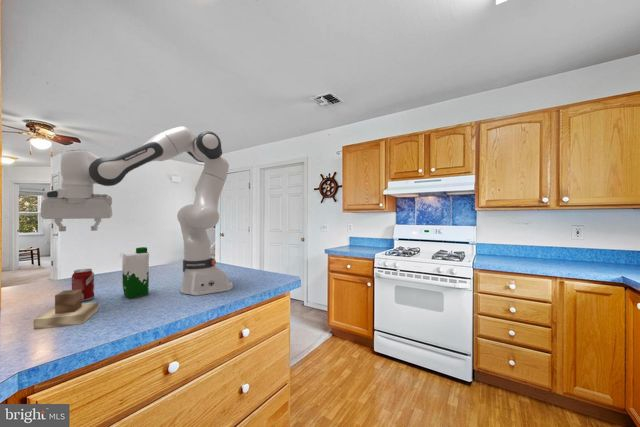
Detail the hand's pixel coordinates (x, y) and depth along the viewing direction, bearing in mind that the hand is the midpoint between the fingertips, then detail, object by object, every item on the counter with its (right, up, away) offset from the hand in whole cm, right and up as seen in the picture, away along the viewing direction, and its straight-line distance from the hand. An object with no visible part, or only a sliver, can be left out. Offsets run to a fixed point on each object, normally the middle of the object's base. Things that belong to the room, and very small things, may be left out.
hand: (78, 230), depth 100 cm
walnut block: (+6, -26, -10) cm, 28 cm away
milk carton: (+11, -29, +14) cm, 34 cm away
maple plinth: (+6, -29, -10) cm, 31 cm away
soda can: (-5, -29, +8) cm, 30 cm away
